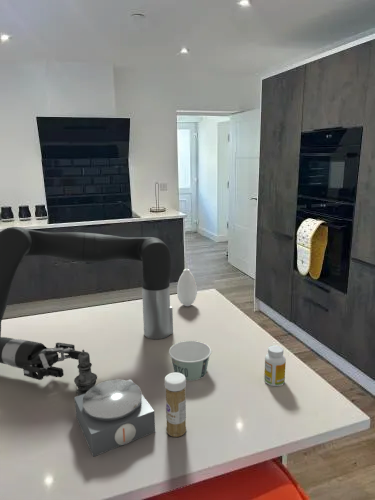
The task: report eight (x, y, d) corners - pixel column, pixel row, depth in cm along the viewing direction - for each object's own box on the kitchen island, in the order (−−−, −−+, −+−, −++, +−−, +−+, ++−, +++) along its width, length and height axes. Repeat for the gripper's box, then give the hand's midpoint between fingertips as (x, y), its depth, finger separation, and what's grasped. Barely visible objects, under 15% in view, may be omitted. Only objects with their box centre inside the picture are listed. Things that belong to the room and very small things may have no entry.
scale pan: (129, 383, 94) (129, 373, 94) (151, 412, 83) (150, 402, 83) (77, 400, 88) (76, 390, 87) (93, 434, 77) (92, 423, 76)
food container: (218, 366, 110) (218, 345, 108) (199, 388, 100) (199, 366, 98) (182, 356, 116) (181, 336, 114) (161, 376, 105) (160, 355, 104)
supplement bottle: (285, 377, 104) (287, 345, 102) (283, 388, 99) (285, 355, 97) (265, 374, 106) (266, 342, 103) (262, 384, 101) (264, 352, 98)
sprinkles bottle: (162, 431, 84) (160, 378, 81) (175, 420, 88) (174, 369, 84) (177, 441, 81) (176, 386, 78) (190, 429, 85) (190, 376, 81)
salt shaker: (92, 398, 96) (88, 356, 93) (71, 396, 97) (66, 354, 94) (102, 385, 102) (98, 344, 99) (81, 383, 103) (77, 343, 100)
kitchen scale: (131, 398, 96) (130, 379, 95) (156, 433, 84) (155, 412, 82) (76, 417, 89) (74, 397, 88) (94, 458, 77) (92, 436, 76)
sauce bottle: (185, 300, 159) (184, 259, 155) (200, 304, 155) (200, 262, 151) (173, 306, 153) (172, 264, 149) (189, 310, 149) (189, 267, 144)
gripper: (1, 354, 97) (53, 365, 92) (40, 330, 110) (87, 339, 104) (5, 380, 99) (56, 392, 93) (43, 353, 112) (90, 363, 106)
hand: (73, 364), depth 99 cm, fingers open, 8 cm apart
